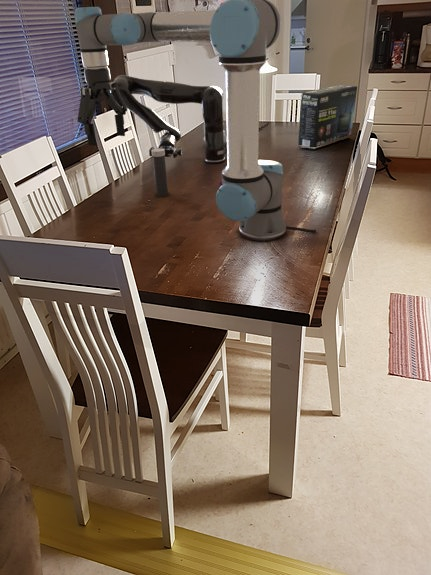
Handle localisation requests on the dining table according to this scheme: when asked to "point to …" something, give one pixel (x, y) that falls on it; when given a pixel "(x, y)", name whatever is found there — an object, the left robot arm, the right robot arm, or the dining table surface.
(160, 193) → the dark grey column
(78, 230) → the dining table surface
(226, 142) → the fossil
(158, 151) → the lid
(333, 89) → the router box
